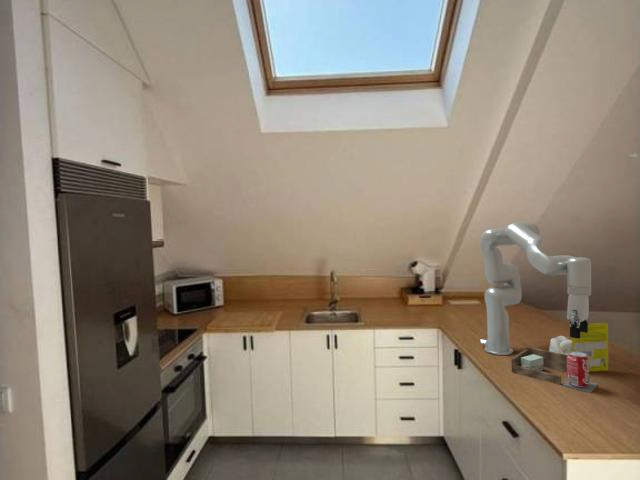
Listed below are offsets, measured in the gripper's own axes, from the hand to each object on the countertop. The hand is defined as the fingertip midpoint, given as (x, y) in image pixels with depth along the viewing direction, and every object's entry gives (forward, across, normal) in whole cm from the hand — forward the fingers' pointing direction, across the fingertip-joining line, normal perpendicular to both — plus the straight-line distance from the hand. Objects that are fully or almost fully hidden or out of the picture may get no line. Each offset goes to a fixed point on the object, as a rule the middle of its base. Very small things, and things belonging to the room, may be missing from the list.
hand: (578, 334), depth 145 cm
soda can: (+19, +2, 0) cm, 19 cm away
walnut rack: (+20, -4, -14) cm, 25 cm away
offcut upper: (+17, -3, -18) cm, 25 cm away
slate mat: (+20, 0, 0) cm, 20 cm away
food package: (+20, -18, 0) cm, 27 cm away
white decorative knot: (+20, -29, -13) cm, 37 cm away
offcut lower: (+20, -3, -18) cm, 27 cm away
